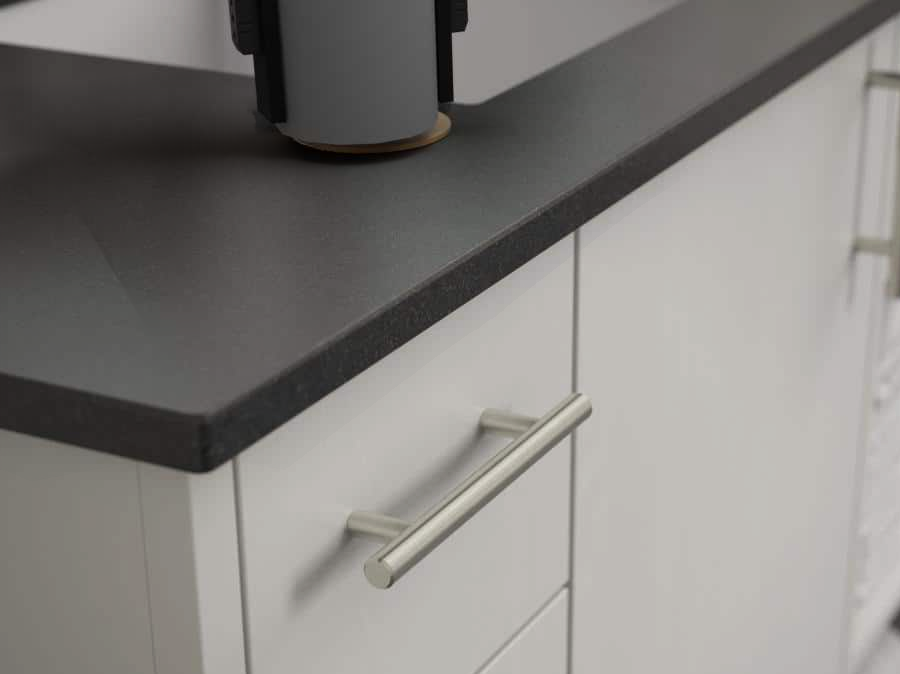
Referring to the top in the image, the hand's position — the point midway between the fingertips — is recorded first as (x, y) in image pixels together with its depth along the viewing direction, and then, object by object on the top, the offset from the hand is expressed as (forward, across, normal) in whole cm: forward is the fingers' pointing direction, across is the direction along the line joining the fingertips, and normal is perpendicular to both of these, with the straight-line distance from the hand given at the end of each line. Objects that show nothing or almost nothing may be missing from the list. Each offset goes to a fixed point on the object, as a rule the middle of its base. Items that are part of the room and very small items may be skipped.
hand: (356, 105), depth 85 cm
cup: (+1, 0, 0) cm, 1 cm away
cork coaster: (+2, +1, +2) cm, 3 cm away
